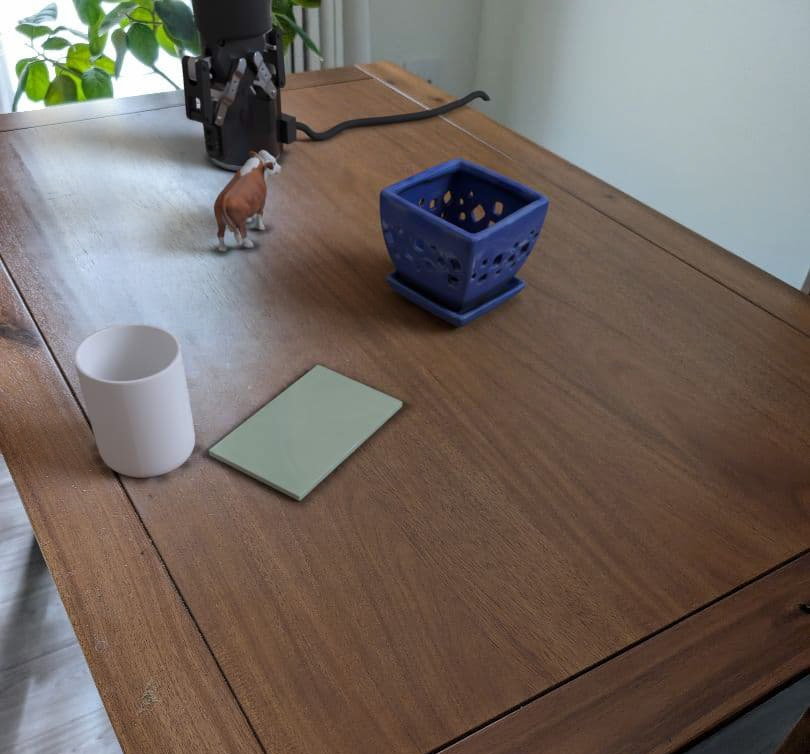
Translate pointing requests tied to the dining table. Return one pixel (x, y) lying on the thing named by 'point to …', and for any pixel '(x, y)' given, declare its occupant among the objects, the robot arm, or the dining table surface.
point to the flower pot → (459, 238)
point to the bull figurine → (244, 198)
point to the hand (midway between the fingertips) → (242, 145)
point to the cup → (136, 398)
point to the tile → (306, 431)
